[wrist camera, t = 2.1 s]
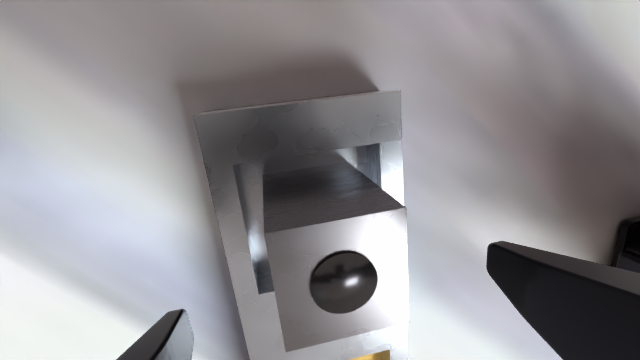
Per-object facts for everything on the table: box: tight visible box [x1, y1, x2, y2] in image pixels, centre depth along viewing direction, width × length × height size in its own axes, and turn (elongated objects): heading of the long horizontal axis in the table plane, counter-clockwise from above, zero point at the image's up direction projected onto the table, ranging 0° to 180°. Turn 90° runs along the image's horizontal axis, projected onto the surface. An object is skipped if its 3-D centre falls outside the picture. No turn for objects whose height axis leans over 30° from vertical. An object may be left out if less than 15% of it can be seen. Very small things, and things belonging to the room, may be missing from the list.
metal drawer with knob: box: [262, 162, 409, 352], centre depth 12 cm, size 4×4×6 cm
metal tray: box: [193, 90, 408, 360], centre depth 15 cm, size 8×20×2 cm, turn 6°
